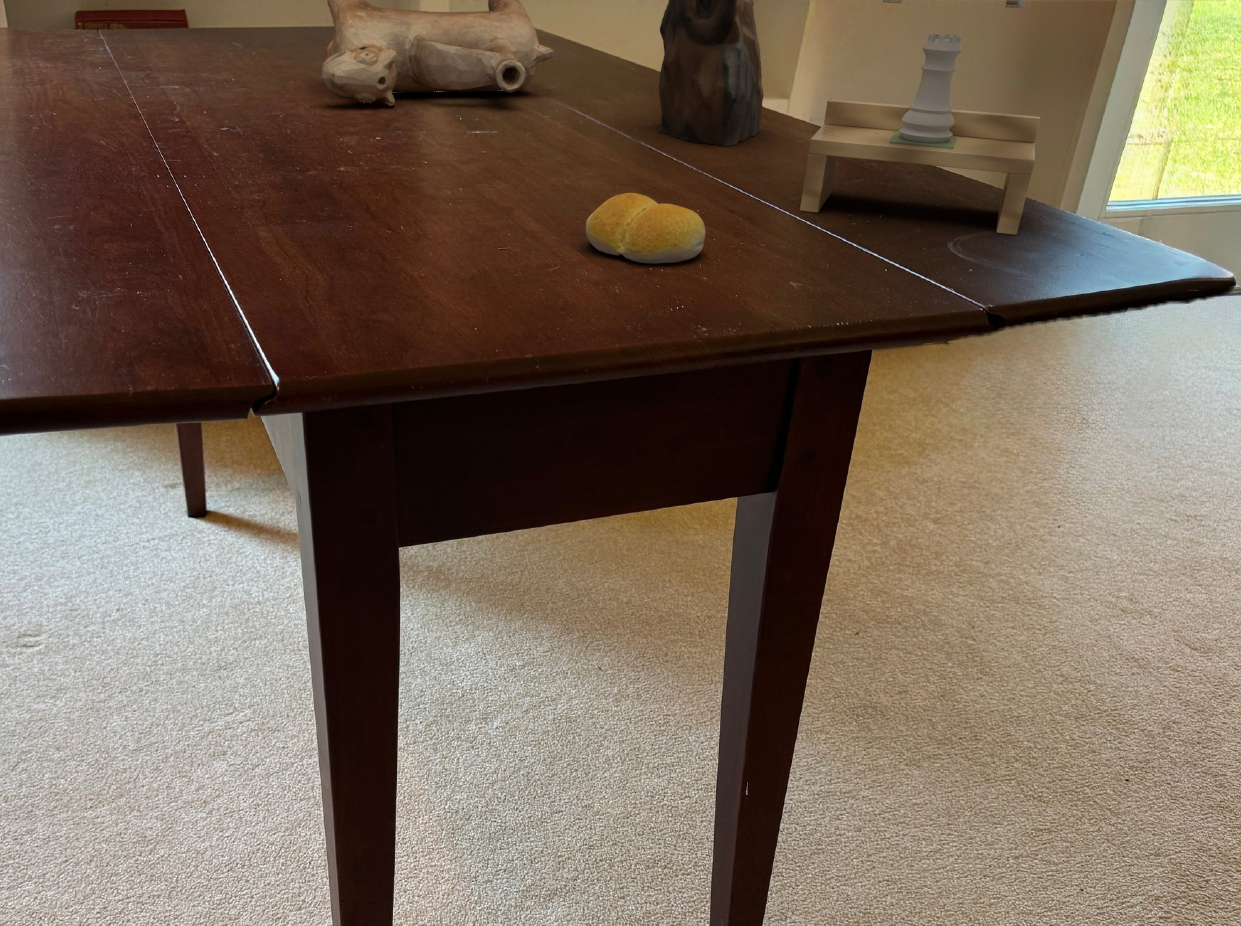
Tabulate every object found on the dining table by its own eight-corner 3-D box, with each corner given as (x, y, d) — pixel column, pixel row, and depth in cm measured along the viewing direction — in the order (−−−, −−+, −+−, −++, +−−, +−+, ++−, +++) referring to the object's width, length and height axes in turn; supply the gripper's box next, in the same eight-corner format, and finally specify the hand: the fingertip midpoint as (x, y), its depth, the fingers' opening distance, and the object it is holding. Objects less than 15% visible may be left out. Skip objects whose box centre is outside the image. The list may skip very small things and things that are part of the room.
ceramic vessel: (305, -39, 147) (328, 7, 128) (534, -13, 156) (587, 33, 137) (303, 67, 155) (324, 124, 136) (521, 86, 164) (569, 142, 145)
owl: (731, 149, 123) (755, -63, 113) (624, 136, 128) (637, -69, 118) (765, 131, 133) (790, -65, 123) (664, 120, 138) (680, -70, 127)
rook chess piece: (960, 139, 98) (981, 36, 94) (939, 145, 95) (961, 40, 91) (910, 131, 100) (929, 31, 96) (889, 138, 97) (907, 34, 93)
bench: (1017, 211, 102) (1040, 116, 98) (1016, 235, 95) (1041, 133, 91) (815, 190, 107) (828, 99, 103) (799, 211, 100) (814, 113, 96)
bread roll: (667, 273, 83) (672, 217, 80) (569, 249, 87) (571, 195, 85) (726, 250, 88) (732, 197, 86) (630, 229, 93) (634, 178, 91)
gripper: (1140, -201, 84) (1090, 7, 91) (858, -198, 90) (832, -3, 97) (1147, -208, 79) (1094, 13, 86) (848, -204, 85) (821, 2, 92)
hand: (953, 5), depth 92 cm, fingers open, 8 cm apart
